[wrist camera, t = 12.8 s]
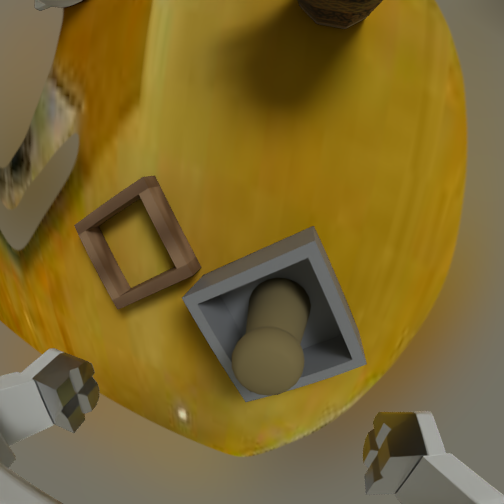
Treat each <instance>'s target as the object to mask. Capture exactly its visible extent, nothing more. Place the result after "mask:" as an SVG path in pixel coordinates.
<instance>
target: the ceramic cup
mask: <svg viewBox="0 0 504 504" xmlns="http://www.w3.org/2000/svg"><path fill="white" fill-rule="evenodd" d="M297 1H298V3H299V6H300V7H301V8H302V9H303V10H304V11H305V12H306V13H307V14H308V15H309V16H310V17H311V18H312V19H313V20H314V22H316V23H317V24H320V25H325V26H331V27H336V28H341V29H346V28H348V27H350V26H352V25H354V24H356V23H358V22H360V21H362V20H364V19H365V18H366V17H367V16H368V15H369V14H370V13H371V12H372V11H373V10H374V9H375V8H376V7H377V6H378V5H379V4H380V3H381V2H382V0H297Z"/></svg>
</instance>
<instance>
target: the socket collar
mask: <svg viewBox="0 0 504 504" xmlns="http://www.w3.org/2000/svg"><path fill="white" fill-rule="evenodd" d="M140 198H141V200H142V202H143V204H144V206H145V208H146V210H147V212H148V214H149V216H150V218H151V220H152V222H153V224H154V226H155V228H156V230H157V232H158V234H159V236H160V238H161V240H162V242H163V243H164V245H165V247H166V249H167V251H168V253H169V255H170V257H171V259H172V261H173V263H174V264H175V266H176V267H174V268H172V269H170V270H168V271H165V272H163V273H161V274H159V275H157V276H155V277H153V278H151V279H149V280H147V281H145V282H143V283H141V284H139V285H137V286H135V287H133V288H130V286H129V284H128V283H127V281H126V279H125V277H124V275H123V273H122V271H121V270H120V268H119V266H118V264H117V262H116V260H115V258H114V256H113V254H112V252H111V250H110V248H109V246H108V244H107V242H106V240H105V238H104V236H103V234H102V232H101V230H100V228H99V225H101V224H102V223H104V222H105V221H107V220H108V219H109V218H111V217H112V216H114V215H115V214H117V213H118V212H120V211H121V210H123V209H125V208H126V207H128V206H129V205H131V204H132V203H134V202H135V201H137V200H138V199H140ZM74 226H75V228H76V230H77V232H78V235H79V237H80V239H81V241H82V243H83V245H84V247H85V249H86V251H87V253H88V255H89V257H90V259H91V261H92V263H93V265H94V267H95V269H96V271H97V273H98V275H99V277H100V279H101V280H102V282H103V284H104V286H105V288H106V290H107V291H108V293H109V295H110V297H111V299H112V300H113V302H114V304H115V306H116V307H117V309H120V308H123V307H125V306H127V305H129V304H131V303H134V302H136V301H138V300H140V299H142V298H145V297H147V296H149V295H151V294H153V293H156V292H158V291H160V290H162V289H164V288H167V287H169V286H171V285H173V284H175V283H178V282H180V281H182V280H184V279H186V278H189V277H191V276H193V275H194V274H195V273H196V272H197V271H198V270H199V269H200V268H201V266H200V264H199V262H198V260H197V258H196V256H195V254H194V252H193V250H192V249H191V247H190V245H189V243H188V241H187V239H186V237H185V235H184V233H183V231H182V229H181V227H180V225H179V223H178V221H177V219H176V217H175V215H174V213H173V211H172V209H171V207H170V205H169V203H168V201H167V199H166V197H165V195H164V193H163V191H162V189H161V187H160V185H159V183H158V181H157V179H156V177H155V176H148V177H142V178H141V179H139V180H138V181H136V182H135V183H133V184H132V185H130V186H129V187H127V188H126V189H124V190H123V191H121V192H120V193H118V194H117V195H116V196H114V197H113V198H111V199H110V200H108V201H107V202H106V203H104V204H103V205H101V206H100V207H99V208H97V209H96V210H95V211H93V212H92V213H90V214H89V215H88V216H86V217H85V218H84V219H82V220H81V221H80V222H78V223H77V224H76V225H74Z"/></svg>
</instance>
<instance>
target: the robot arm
mask: <svg viewBox="0 0 504 504" xmlns="http://www.w3.org/2000/svg"><path fill="white" fill-rule="evenodd" d="M80 1H82V0H35V8H36V9H37V10H39V11H41V10H44V9H47V8H49V7H68V6H71V5H74V4H76V3H78V2H80ZM94 373H95V372H94V369H93V366H92V364H91V363H89V362H88V361H85V360H83V359H80V358H77V357H75V356H72V355H70V354H67V353H64V352H62V351H59V350H57V349H54V348H53V349H48V350H47V351H46V352H45V353H44V354H42V355H41V356H40V357H39V358H38V359H37V360H36V361H34V362H33V363H32V364H31V365H29V366H28V367H27V368H26V369H25V370H24V371H22V372H21V373H19V372H15V373H11V374H7V375H3V376H0V504H63V503H61V502H59V501H58V500H56V499H54V498H53V497H51V496H49V495H48V494H46V493H45V492H43V491H41V490H40V489H38V488H37V487H35V486H34V485H32V484H30V483H29V482H27V481H26V480H25V479H23V478H22V477H20V476H19V475H17V474H16V473H15V472H13V471H12V470H11V469H9V467H10V466H11V464H12V463H13V462H14V461H15V460H16V459H15V455H14V453H13V452H12V450H11V449H10V447H9V445H12V444H14V443H16V442H18V441H20V440H23V439H25V438H27V437H29V436H32V435H33V434H36V433H38V432H40V431H42V430H44V429H46V428H49V427H51V426H52V425H53V424H55V425H57V426H59V427H62V428H64V429H66V430H68V431H70V432H72V433H75V431H76V430H77V429H78V428H79V426H80V425H81V424H82V423H83V422H84V420H85V413H88V412H90V411H92V410H93V409H94V408H95V406H96V405H97V402H98V399H99V387H98V384H97V382H96V381H95V380H94V379H93V377H92V376H93V374H94ZM373 424H374V429H373V430H371V431H370V432H369V433H368V435H367V437H366V439H365V443H364V448H363V463H364V464H365V465H366V467H368V470H367V472H366V474H365V489H366V495H378V494H379V495H380V494H395V496H396V497H397V499H398V500H399V501H400V503H401V504H504V495H503V494H501V493H500V492H499V491H497V490H496V489H495V488H494V487H492V486H491V485H490V484H489V483H487V482H486V481H485V480H483V479H482V478H481V477H480V476H478V475H477V474H476V473H475V472H473V471H472V470H471V469H470V468H468V467H467V466H466V465H465V464H463V463H462V462H461V461H459V460H458V459H457V458H456V457H455V456H453V455H452V454H451V453H447V454H446V452H445V449H444V446H443V443H442V440H441V437H440V434H439V431H438V428H437V426H436V423H435V420H434V417H433V415H432V413H431V412H430V411H420V412H419V411H418V412H379V413H378V414H377V415H376V417H375V419H374V421H373Z"/></svg>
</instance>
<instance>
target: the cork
mask: <svg viewBox="0 0 504 504" xmlns="http://www.w3.org/2000/svg"><path fill="white" fill-rule="evenodd" d="M310 309H311V304H310V299H309V296H308V294H307V293H306V291H305V289H304V288H303V287H301V286H300V285H299V284H298V283H297V282H294V281H292V280H290V279H286V278H272V279H267V280H266V281H264V282H262V283H260V284H259V285H258V286H257V287H256V288H255V289H254V290H253V292H252V294H251V296H250V299H249V307H248V316H247V325H246V334H245V335H244V336H243V337H242V338H241V339H240V340H239V341H238V342H237V344H236V346H235V348H234V350H233V353H232V370H233V372H234V375H235V377H236V379H237V380H238V381H239V382H240V384H241V385H242V386H243V387H245V388H246V389H248V390H249V391H251V392H254V393H256V394H259V395H267V396H269V395H278V394H280V393H283V392H286V391H287V390H289V389H290V388H291V387H293V386H294V385H295V384H296V383H297V382H298V380H299V378H300V377H301V375H302V373H303V368H304V354H303V350H302V347H301V345H300V344H301V341H302V338H303V334H304V331H305V328H306V325H307V322H308V318H309V315H310Z"/></svg>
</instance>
